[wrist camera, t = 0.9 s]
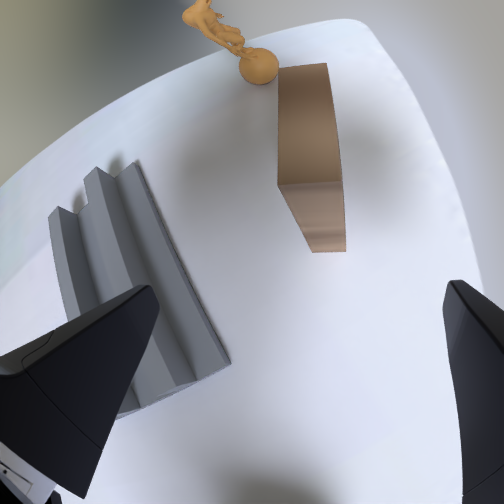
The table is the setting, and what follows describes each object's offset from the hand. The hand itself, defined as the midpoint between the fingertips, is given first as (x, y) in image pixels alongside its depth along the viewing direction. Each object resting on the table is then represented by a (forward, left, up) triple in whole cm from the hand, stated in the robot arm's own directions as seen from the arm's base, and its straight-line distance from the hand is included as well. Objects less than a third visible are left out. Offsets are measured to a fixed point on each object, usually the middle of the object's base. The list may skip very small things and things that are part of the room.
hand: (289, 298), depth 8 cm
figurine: (+24, -1, -13) cm, 27 cm away
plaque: (+8, -3, -13) cm, 15 cm away
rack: (+7, +17, -13) cm, 23 cm away
